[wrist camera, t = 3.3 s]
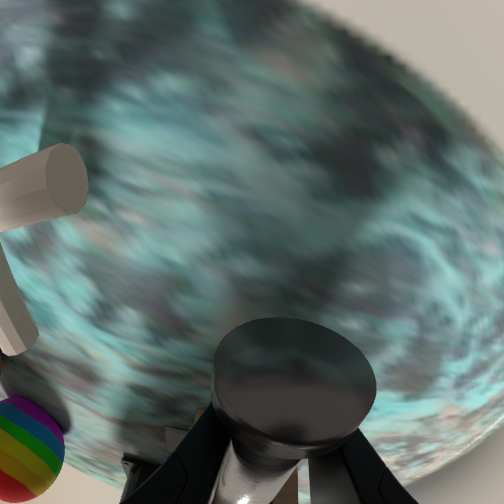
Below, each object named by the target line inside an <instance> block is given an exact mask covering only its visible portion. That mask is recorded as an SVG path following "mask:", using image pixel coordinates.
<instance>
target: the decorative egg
mask: <svg viewBox="0 0 504 504" xmlns="http://www.w3.org/2000/svg"><path fill="white" fill-rule="evenodd" d="M64 454H65V445H64V438H63V434H62V431H61V429H60V427H59V425H58V424H57V423H56V422H55V420H54V419H53V418H52V417H51V416H50V415H49V414H47V413H46V412H45V411H44V410H43V409H41V408H40V407H39V406H37V405H36V404H34V403H32V402H31V401H29V400H26V399H24V398H21V397H12V398H7V399H4V400H2V401H0V500H2V501H5V502H10V503H19V502H25V501H28V500H31V499H34V498H36V497H38V496H39V495H41V494H42V493H44V492H45V491H46V490H47V489H48V488H49V487H50V486H51V485H52V484H53V483H54V481H55V480H56V478H57V476H58V474H59V473H60V470H61V468H62V465H63V461H64Z"/></svg>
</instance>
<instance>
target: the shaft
mask: <svg viewBox="0 0 504 504" xmlns="http://www.w3.org/2000/svg"><path fill="white" fill-rule="evenodd" d="M375 397H376V379H375V375H374V372H373V370H372V367H371V366H370V364H369V362H368V360H367V359H366V358H365V356H364V355H363V354H362V353H361V351H360V350H359V349H358V348H357V347H356V346H354V345H353V344H352V343H351V342H350V341H348V340H347V339H346V338H344V337H343V336H341V335H339V334H338V333H336V332H334V331H332V330H330V329H328V328H326V327H323V326H321V325H318V324H315V323H312V322H308V321H304V320H299V319H293V318H281V317H275V318H263V319H258V320H253V321H250V322H247V323H244V324H242V325H240V326H238V327H236V328H235V329H233V330H232V331H231V332H229V333H228V334H227V335H226V336H225V337H224V338H223V340H222V341H221V342H220V344H219V346H218V348H217V351H216V354H215V360H214V367H213V375H212V382H211V400H212V404H213V407H214V410H215V412H216V414H217V416H218V418H219V419H220V421H221V423H222V424H223V425H224V426H225V428H226V429H227V430H228V431H229V432H230V433H231V434H232V438H231V442H230V446H229V449H228V453H227V456H226V459H225V462H224V466H223V469H222V473H221V476H220V480H219V484H218V488H217V492H216V496H215V499H214V503H213V504H270V502H271V501H272V500H273V499H274V497H275V496H276V495H277V493H278V492H279V491H280V489H281V488H282V486H283V485H284V484H285V482H286V481H287V480H288V478H289V477H290V475H291V474H292V472H293V471H294V470H295V468H296V467H297V465H298V464H299V462H300V461H301V459H308V458H315V457H318V456H322V455H325V454H327V453H330V452H332V451H334V450H336V449H337V448H339V447H341V446H342V445H343V444H344V443H345V442H347V441H348V439H349V438H350V437H351V436H352V435H353V434H354V432H355V431H356V429H357V428H358V427H359V425H360V424H361V423H362V421H363V420H364V418H365V417H366V415H367V414H368V413H369V411H370V409H371V407H372V405H373V403H374V400H375Z"/></svg>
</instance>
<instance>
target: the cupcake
mask: <svg viewBox="0 0 504 504" xmlns="http://www.w3.org/2000/svg"><path fill="white" fill-rule="evenodd" d="M2 369H3V359H2V357H1V355H0V375H1V372H2Z"/></svg>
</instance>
